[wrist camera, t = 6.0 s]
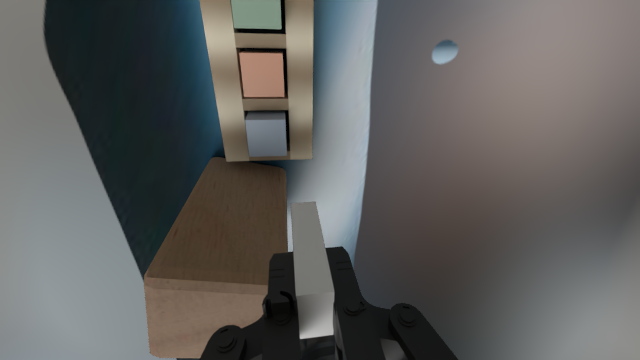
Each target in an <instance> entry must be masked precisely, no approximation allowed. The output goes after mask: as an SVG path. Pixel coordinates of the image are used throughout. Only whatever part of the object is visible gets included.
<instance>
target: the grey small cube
mask: <svg viewBox="0 0 640 360" xmlns="http://www.w3.org/2000/svg"><path fill="white" fill-rule="evenodd" d="M245 124H246V132H247V141H248V149H249V157H260V156H287V143H286V120H285V110H249V112H248V114H247V117H246V119H245Z"/></svg>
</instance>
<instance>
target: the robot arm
mask: <svg viewBox="0 0 640 360" xmlns="http://www.w3.org/2000/svg"><path fill="white" fill-rule="evenodd" d="M291 219H292V237H293V252H286V253H275V254H273V256H272V258H271V259H270V261H269V279H268V294H267V295H266V296H265V298H264V299H263V303H262V309H263V315H262V317H261V318H260V319H258V320H257V321H256V322H254V323H252V324H250V325H248V326H246V327H243V328H240V327H239V326H236V325H226V326H224V327H221V328H219V329H218V330H217V331H216V332H214V333H213V335H212V336H211V338H210V339H209V341H208V343H207V345H206V347H205V349H204V351H203V353H202V355H201V357H200V359H199V360H458V359H457V357H456V356H455V355H454V354H453V353H452V351H451V350H450V349H449V348H448V346H447V345H446V344H445V342H444V341H443V340H442V339H441V337H440V336H439V335H438V334H437V332H436V331H435V330H434V329H433V327H432V326H431V325H430V324H429V322H428V321H427V320H426V318H425V317H424V316H423V315H422V314H421V312H420V311H418V310H417V308H415V307H413V306H412V305H409V304H405V303H400V304H396V305H394V306H393V307H392V308H391V310H390V309H384V308H379V307H375V306H373V305H371V304H369V303H368V302H367V301H366V300H365V299H364V298H363V297H362V295H361V292H360V289H359V286H358V283H357V280H356V276H355V273H354V270H353V267H352V264H351V260H350V257H349V254H348V252H347V251H346V250H345V249H344V248H343V247H332V248H325V244H324V240H323V235H322V230H321V226H320V221H319V216H318V211H317V207H316V202H304V203H291Z"/></svg>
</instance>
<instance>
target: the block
mask: <svg viewBox="0 0 640 360" xmlns="http://www.w3.org/2000/svg"><path fill="white" fill-rule="evenodd" d="M286 252H288V241H287V194H286V173H285V170H284V169H283V168H280V167H276V166H270V165H264V164H258V163H252V162H246V161H231V162H226V158H221V157H213V158H211V159H210V161H209V162H208V164H207V166H206V168H205V169H204V171H203V173H202V175H201V176H200V178H199V180H198V182H197V184H196V185H195V187H194V189H193V191H192V192H191V194H190V196H189V198H188V199H187V201H186V203H185V205H184V206H183V208H182V210H181V212H180V213H179V215H178V217H177V219H176V220H175V222H174V224H173V226H172V228H171V229H170V231H169V233H168V235H167V236H166V238H165V240H164V242H163V243H162V245H161V247H160V249H159V250H158V252H157V254H156V256H155V257H154V259H153V261H152V263H151V264H150V266H149V268H148V270H147V272H146V273H145V275H144V289H145V300H146V313H147V324H148V336H149V348H150V353H151V354H152V355H153V356H156V357H159V358H200V357H201V355H202V353H203V351H204V349H205V347H206V345H207V343H208V341H209V339H210V338H211V336H212V335H213V333H214V332H216V331H217V330H218V329H219V328H221V327H224V326H226V325H236V326H239V327H240V328H243V327H246V326H248V325H250V324H252V323H254V322H256V321H257V320H258V319H260V318H261V317H262V315H263V309H262V303H263V299H264V298H265V296H266V295H267V294H268V279H269V261H270V259H271V258H272V256H273V254H275V253H286Z"/></svg>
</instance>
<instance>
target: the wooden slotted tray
mask: <svg viewBox="0 0 640 360" xmlns="http://www.w3.org/2000/svg"><path fill="white" fill-rule="evenodd" d="M284 1H285V29H286V34H269V33H240V28H234V22H233V14H232V5H231V0H200V6H201V12H202V18H203V24H204V30H205V36H206V42H207V48H208V54H209V60H210V66H211V72H212V78H213V84H214V90H215V96H216V102H217V108H218V114H219V120H220V126H221V132H222V138H223V144H224V150H225V156H226V162H231V161H263V160H295V159H312V127H313V8H314V0H284ZM242 48H286V56H287V84H288V91H284V97H244V91H243V82H242V73H241V64H240V56H239V53H240V52H242ZM249 110H288V112H289V139H286V143H287V156H260V157H249V149H248V141H247V132H246V124H245V119H246V117H247V114H248V112H249Z"/></svg>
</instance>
